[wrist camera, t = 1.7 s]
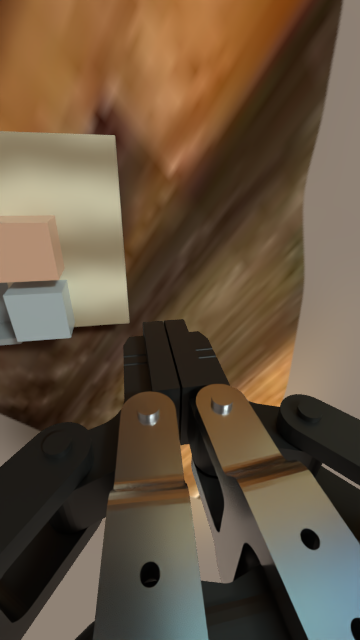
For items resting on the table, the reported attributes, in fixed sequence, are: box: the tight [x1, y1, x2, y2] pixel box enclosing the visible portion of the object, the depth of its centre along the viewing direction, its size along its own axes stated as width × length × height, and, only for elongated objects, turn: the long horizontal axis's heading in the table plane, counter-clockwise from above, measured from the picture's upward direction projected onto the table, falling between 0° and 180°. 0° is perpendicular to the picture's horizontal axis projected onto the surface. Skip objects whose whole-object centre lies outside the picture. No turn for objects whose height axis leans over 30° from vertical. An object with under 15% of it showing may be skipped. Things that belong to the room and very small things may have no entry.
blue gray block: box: [3, 280, 75, 342], centre depth 23 cm, size 4×4×2 cm
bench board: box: [0, 131, 129, 327], centre depth 23 cm, size 14×9×3 cm, turn 179°
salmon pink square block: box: [0, 215, 65, 283], centre depth 20 cm, size 4×4×2 cm
